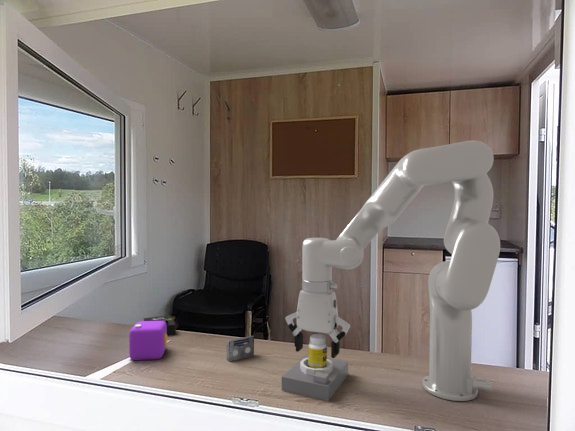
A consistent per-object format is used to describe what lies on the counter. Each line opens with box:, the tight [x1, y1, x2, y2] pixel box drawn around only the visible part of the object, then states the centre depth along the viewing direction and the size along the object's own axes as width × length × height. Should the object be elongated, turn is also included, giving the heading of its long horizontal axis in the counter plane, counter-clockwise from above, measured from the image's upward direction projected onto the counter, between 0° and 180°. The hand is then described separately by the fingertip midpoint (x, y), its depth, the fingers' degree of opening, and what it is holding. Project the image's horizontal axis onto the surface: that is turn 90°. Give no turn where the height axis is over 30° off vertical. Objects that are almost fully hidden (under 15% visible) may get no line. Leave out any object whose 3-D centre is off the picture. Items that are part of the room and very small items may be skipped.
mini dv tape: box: [226, 335, 255, 362], centre depth 115 cm, size 8×2×6 cm, turn 123°
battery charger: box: [143, 314, 176, 337], centre depth 139 cm, size 13×10×4 cm
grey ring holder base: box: [281, 353, 349, 402], centre depth 99 cm, size 12×16×5 cm
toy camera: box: [128, 320, 169, 361], centre depth 118 cm, size 11×14×10 cm
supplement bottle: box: [308, 333, 328, 368], centre depth 99 cm, size 5×5×8 cm
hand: (316, 353), depth 99 cm, fingers open, 9 cm apart
